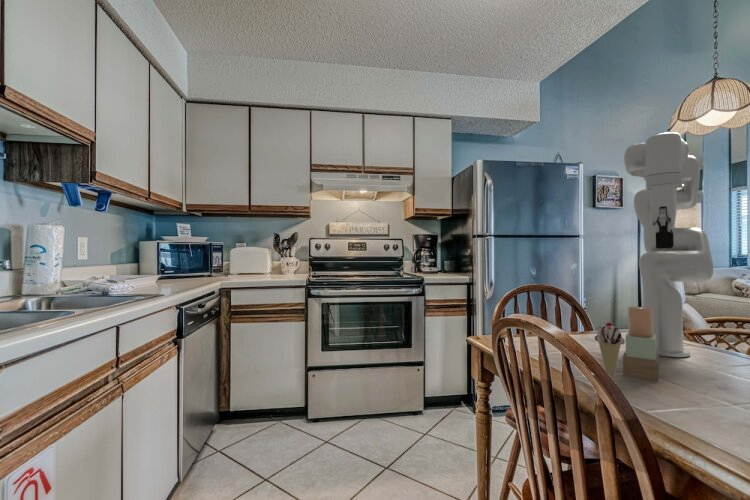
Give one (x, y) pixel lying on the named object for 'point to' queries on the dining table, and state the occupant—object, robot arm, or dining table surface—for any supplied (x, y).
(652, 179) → the robot arm
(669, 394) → the dining table surface
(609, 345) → the ice cream cone
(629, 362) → the base block
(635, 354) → the pale green block
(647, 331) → the tan rounded capsule
